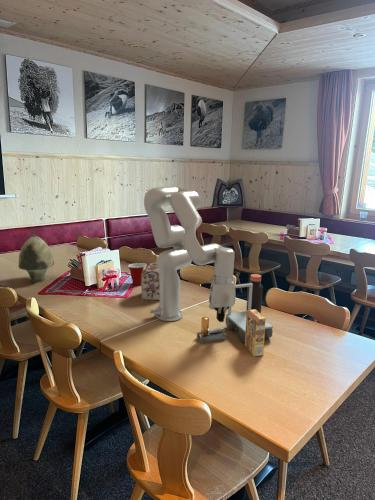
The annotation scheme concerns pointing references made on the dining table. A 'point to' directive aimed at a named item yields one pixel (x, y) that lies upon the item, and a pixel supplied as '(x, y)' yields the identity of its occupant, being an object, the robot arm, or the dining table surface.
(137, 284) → the plastic cup
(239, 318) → the trolley
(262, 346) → the candy box
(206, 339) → the pin rail
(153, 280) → the decorative jar
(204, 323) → the stop pin
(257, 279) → the bottle
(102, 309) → the dining table surface
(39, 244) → the potted topiary
